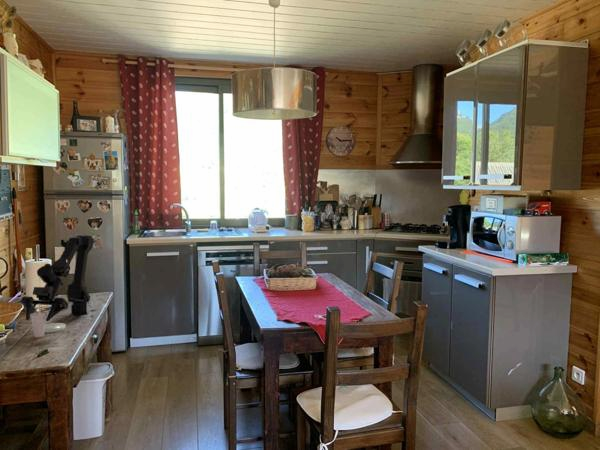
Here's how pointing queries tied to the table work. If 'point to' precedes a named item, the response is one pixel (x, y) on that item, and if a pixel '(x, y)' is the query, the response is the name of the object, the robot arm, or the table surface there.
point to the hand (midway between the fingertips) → (36, 320)
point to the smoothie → (38, 323)
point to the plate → (54, 327)
